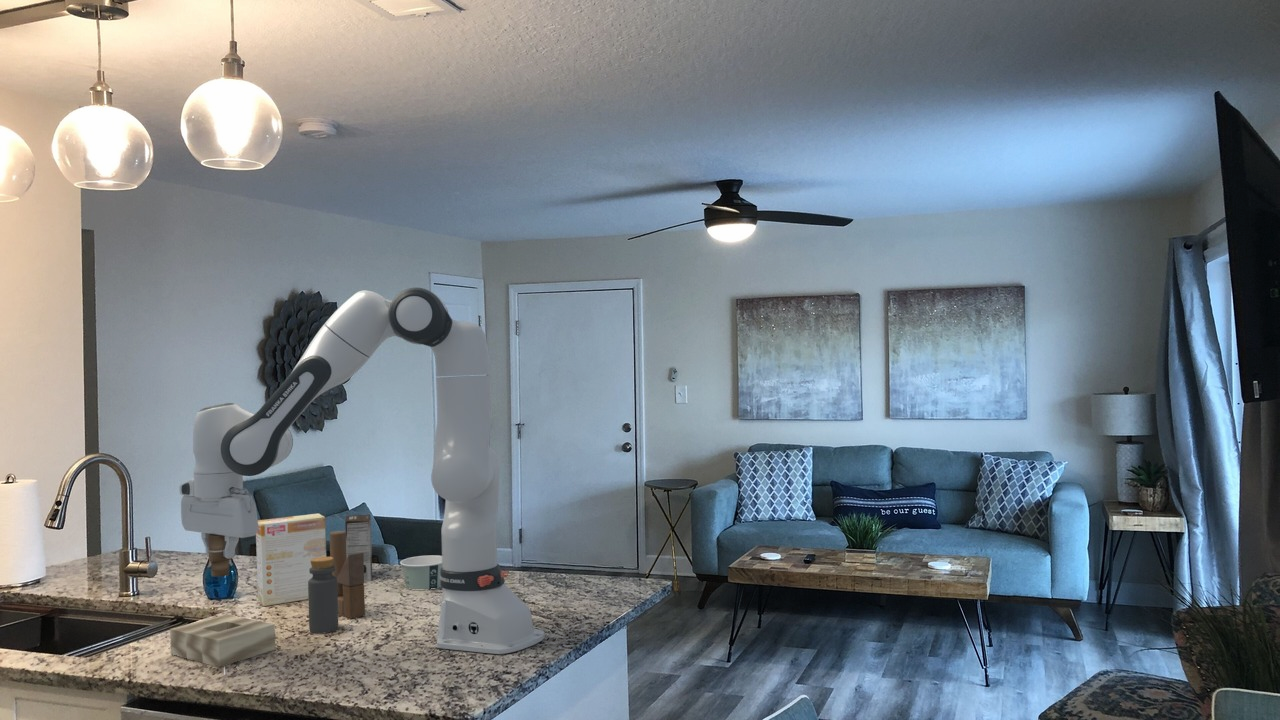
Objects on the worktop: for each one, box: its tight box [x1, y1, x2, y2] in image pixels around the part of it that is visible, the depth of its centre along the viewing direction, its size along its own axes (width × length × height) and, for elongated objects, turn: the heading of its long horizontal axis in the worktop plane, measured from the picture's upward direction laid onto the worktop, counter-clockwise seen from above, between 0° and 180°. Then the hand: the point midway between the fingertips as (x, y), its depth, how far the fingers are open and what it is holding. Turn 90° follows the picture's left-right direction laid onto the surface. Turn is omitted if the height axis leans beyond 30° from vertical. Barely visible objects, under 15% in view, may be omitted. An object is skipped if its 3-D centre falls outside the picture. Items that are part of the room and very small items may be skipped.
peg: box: [208, 534, 232, 578], centre depth 184 cm, size 4×4×8 cm
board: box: [169, 613, 276, 668], centre depth 184 cm, size 16×12×5 cm
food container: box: [399, 554, 442, 589], centre depth 235 cm, size 12×12×6 cm
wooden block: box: [329, 530, 366, 620], centre depth 211 cm, size 4×11×18 cm, turn 44°
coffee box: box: [344, 514, 373, 583], centre depth 245 cm, size 9×6×16 cm
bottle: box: [307, 556, 339, 634], centre depth 198 cm, size 6×6×15 cm
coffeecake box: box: [255, 513, 327, 607], centre depth 226 cm, size 15×7×20 cm, turn 123°
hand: (220, 556), depth 184 cm, fingers closed on peg, 4 cm apart
